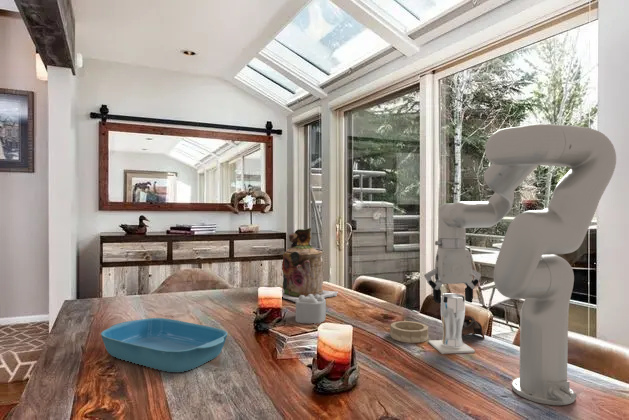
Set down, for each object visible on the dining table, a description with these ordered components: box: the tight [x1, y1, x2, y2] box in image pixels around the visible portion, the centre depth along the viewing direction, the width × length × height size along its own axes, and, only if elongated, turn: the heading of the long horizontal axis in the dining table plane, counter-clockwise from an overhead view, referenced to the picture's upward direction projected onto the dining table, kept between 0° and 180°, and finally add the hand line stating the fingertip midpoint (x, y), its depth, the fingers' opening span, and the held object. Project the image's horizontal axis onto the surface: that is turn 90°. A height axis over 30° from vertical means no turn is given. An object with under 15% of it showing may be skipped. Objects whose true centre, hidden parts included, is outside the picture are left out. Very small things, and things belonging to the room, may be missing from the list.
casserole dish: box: [100, 317, 229, 373], centre depth 118 cm, size 37×22×7 cm, turn 63°
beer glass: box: [440, 292, 466, 349], centre depth 127 cm, size 7×7×15 cm
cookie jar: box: [281, 227, 338, 303], centre depth 198 cm, size 25×25×32 cm
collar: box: [389, 320, 429, 344], centre depth 137 cm, size 12×12×4 cm
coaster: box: [427, 339, 476, 355], centre depth 127 cm, size 10×10×1 cm
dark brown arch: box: [462, 314, 486, 340], centre depth 138 cm, size 12×10×8 cm
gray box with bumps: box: [295, 294, 327, 325], centre depth 158 cm, size 10×13×9 cm
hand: (453, 302), depth 126 cm, fingers open, 9 cm apart
